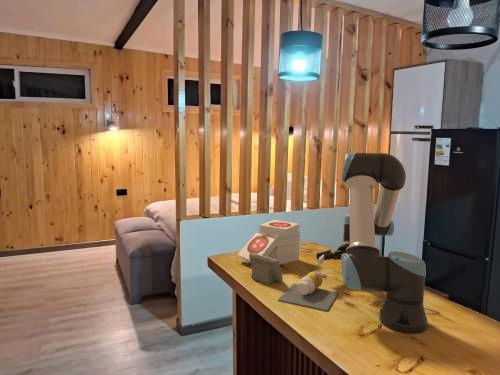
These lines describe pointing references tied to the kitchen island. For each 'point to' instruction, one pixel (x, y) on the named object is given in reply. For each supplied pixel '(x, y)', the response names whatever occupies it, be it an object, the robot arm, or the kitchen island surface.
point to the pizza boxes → (274, 242)
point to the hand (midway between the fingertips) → (335, 265)
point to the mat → (310, 298)
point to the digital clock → (265, 268)
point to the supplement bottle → (310, 283)
